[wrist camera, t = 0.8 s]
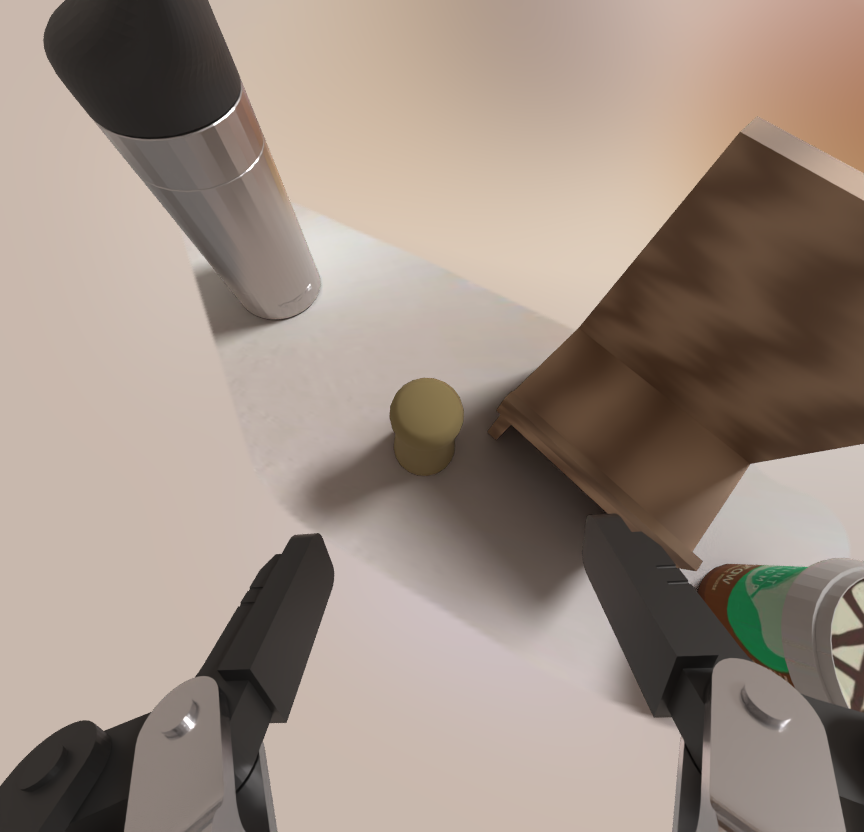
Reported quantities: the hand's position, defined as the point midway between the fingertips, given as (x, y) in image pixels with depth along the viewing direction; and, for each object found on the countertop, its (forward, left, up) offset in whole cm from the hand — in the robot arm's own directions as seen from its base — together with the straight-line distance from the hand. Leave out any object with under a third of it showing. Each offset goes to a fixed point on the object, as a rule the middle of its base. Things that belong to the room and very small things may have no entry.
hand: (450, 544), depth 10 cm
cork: (-6, +5, -20) cm, 21 cm away
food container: (+22, +15, -20) cm, 33 cm away
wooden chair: (+5, +15, -20) cm, 25 cm away
